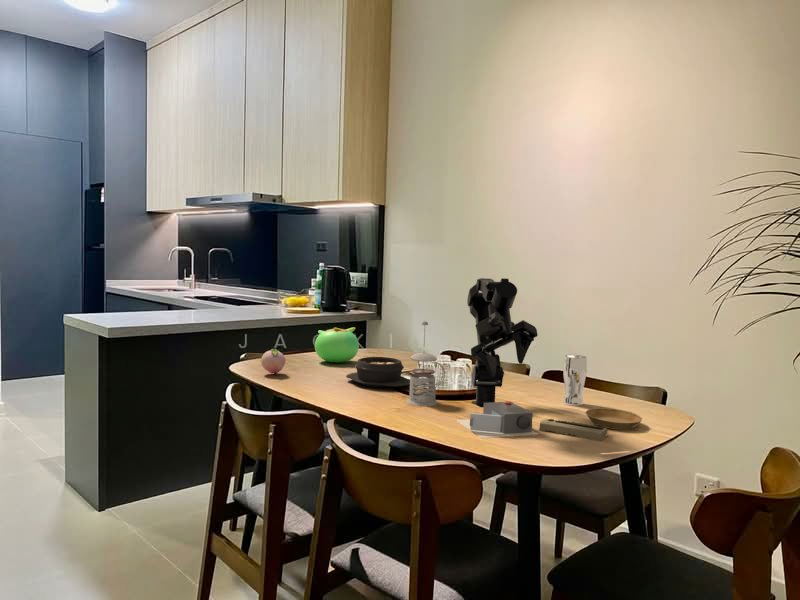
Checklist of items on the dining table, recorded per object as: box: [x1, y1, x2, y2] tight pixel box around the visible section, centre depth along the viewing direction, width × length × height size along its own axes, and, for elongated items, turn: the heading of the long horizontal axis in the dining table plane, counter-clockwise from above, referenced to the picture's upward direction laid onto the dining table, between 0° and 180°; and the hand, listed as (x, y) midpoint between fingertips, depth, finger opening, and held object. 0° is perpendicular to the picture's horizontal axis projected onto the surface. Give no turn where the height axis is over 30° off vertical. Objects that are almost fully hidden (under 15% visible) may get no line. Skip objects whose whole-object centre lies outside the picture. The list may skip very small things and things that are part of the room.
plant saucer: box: [585, 407, 643, 430], centre depth 164 cm, size 15×15×3 cm
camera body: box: [482, 400, 533, 434], centre depth 156 cm, size 13×8×6 cm, turn 18°
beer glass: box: [562, 354, 588, 407], centre depth 185 cm, size 7×7×15 cm
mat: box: [456, 419, 539, 439], centre depth 156 cm, size 16×16×1 cm
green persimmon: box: [314, 326, 360, 364], centre depth 243 cm, size 18×17×15 cm
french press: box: [405, 320, 446, 407], centre depth 180 cm, size 10×12×25 cm
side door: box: [469, 412, 504, 433], centre depth 150 cm, size 8×1×4 cm, turn 78°
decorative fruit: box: [260, 347, 286, 374], centre depth 214 cm, size 9×8×10 cm
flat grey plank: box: [538, 418, 608, 442], centre depth 153 cm, size 16×8×3 cm, turn 61°
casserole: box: [345, 356, 410, 388], centre depth 204 cm, size 25×19×8 cm
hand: (506, 369), depth 153 cm, fingers open, 9 cm apart
